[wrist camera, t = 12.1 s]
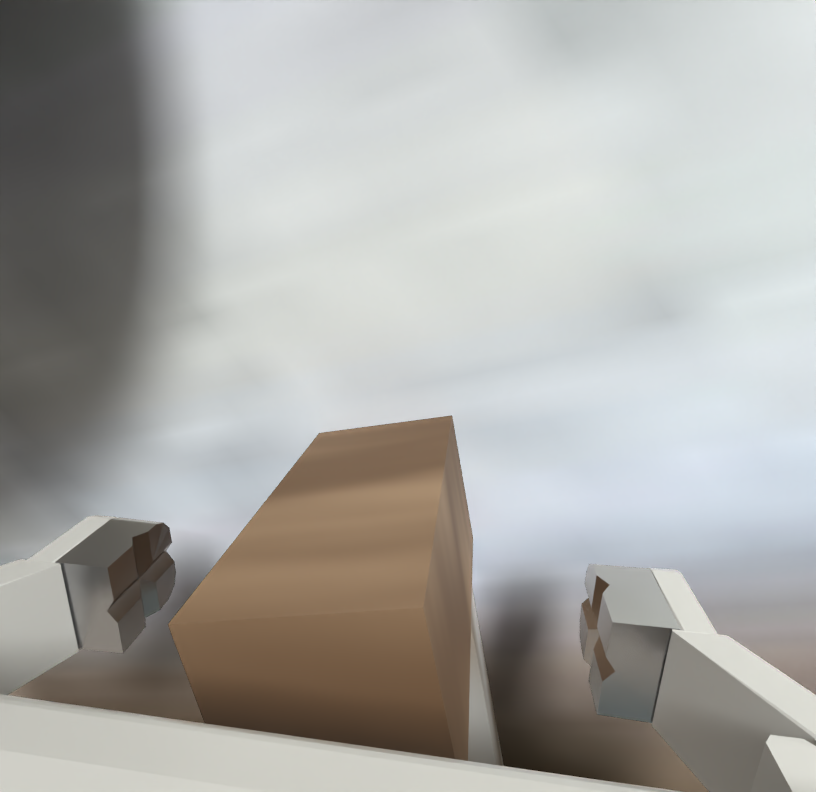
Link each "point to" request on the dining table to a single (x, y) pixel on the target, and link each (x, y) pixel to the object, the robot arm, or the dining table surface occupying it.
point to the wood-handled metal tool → (350, 603)
